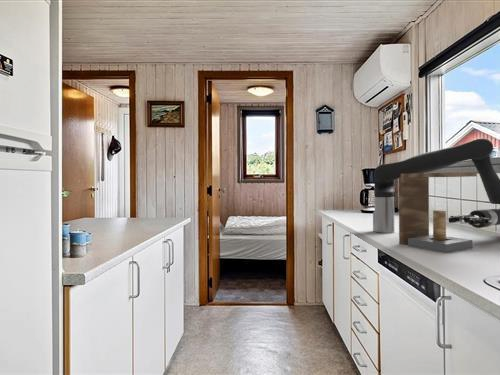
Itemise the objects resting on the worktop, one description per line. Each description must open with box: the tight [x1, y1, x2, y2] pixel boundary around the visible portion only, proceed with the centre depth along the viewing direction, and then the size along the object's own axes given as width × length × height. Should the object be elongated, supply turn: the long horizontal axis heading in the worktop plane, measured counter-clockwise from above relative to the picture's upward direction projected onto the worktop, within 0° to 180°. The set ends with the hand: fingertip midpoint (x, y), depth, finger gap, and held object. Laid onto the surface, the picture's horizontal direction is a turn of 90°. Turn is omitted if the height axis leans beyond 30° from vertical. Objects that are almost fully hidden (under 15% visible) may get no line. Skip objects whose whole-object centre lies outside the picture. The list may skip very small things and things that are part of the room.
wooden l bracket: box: [398, 171, 478, 245], centre depth 148 cm, size 22×16×28 cm
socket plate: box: [407, 234, 474, 253], centre depth 146 cm, size 16×16×3 cm
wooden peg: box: [432, 209, 447, 241], centre depth 146 cm, size 4×4×14 cm
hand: (459, 221), depth 152 cm, fingers open, 8 cm apart
